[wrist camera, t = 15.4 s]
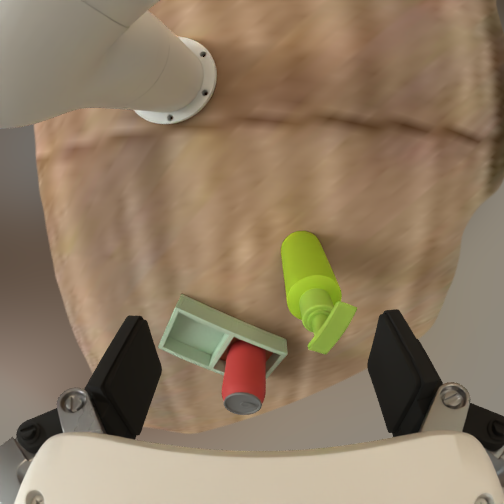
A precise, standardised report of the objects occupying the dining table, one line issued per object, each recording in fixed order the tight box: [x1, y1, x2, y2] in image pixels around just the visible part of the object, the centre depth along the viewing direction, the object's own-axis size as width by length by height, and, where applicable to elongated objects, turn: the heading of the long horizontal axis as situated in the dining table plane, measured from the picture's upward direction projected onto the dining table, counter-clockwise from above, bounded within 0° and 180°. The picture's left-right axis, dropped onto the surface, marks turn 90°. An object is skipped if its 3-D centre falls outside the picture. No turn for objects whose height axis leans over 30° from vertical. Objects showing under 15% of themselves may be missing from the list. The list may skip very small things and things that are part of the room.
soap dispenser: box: [281, 231, 357, 354], centre depth 33 cm, size 6×7×20 cm
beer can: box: [222, 340, 266, 415], centre depth 44 cm, size 7×7×12 cm
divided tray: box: [158, 294, 288, 379], centre depth 48 cm, size 19×10×4 cm, turn 63°
